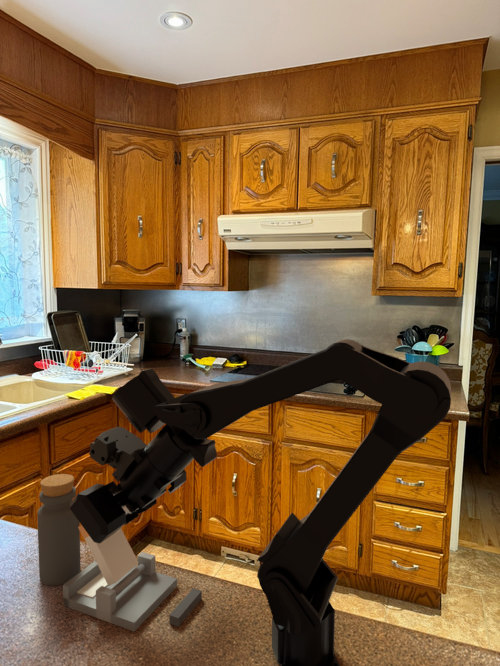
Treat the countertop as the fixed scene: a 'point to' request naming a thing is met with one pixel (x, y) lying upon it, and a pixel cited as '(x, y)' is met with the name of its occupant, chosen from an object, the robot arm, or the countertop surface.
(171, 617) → the long grey bar
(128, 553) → the lever
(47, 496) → the bottle
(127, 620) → the grey twin-post base
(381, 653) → the countertop surface
